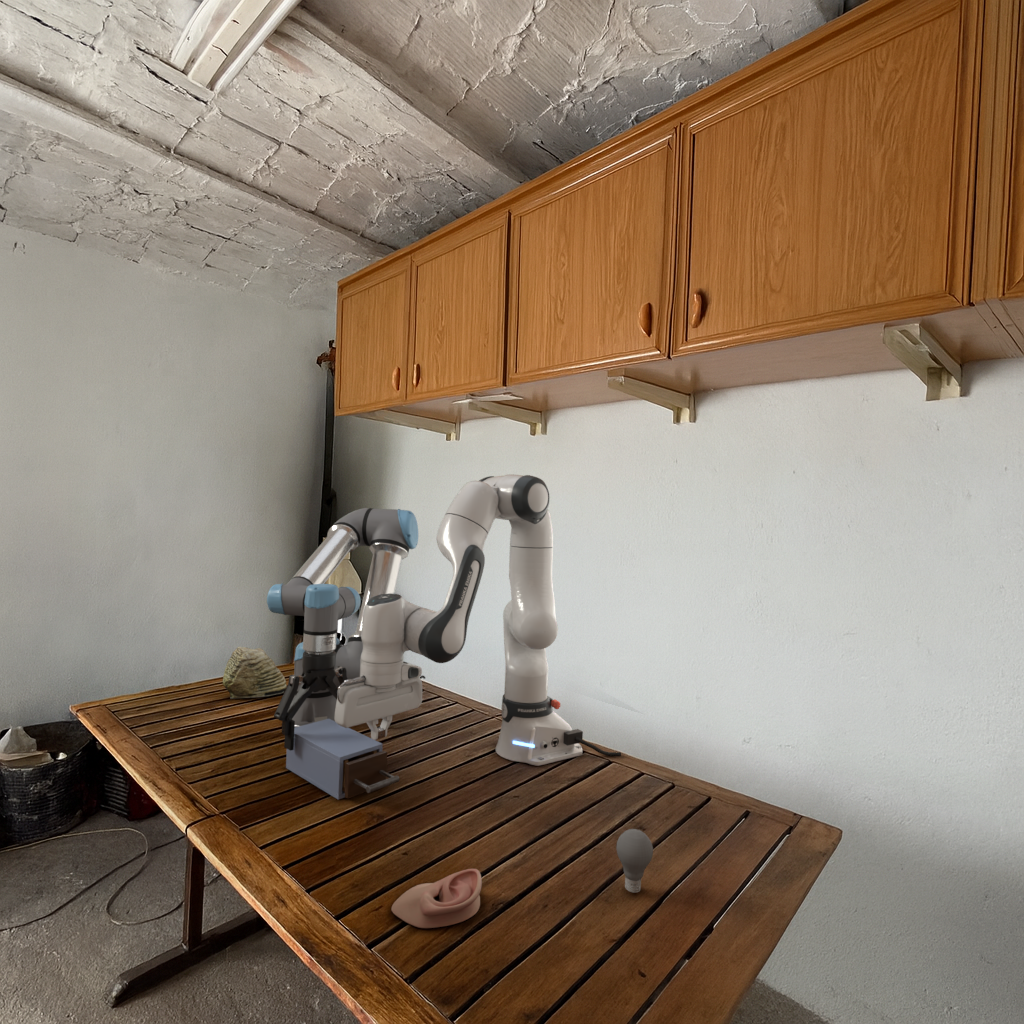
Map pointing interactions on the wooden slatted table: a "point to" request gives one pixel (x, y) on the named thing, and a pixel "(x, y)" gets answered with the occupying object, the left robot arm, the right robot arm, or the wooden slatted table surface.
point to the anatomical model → (441, 901)
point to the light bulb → (634, 857)
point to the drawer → (366, 773)
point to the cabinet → (326, 753)
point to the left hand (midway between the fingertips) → (315, 741)
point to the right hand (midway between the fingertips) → (378, 737)
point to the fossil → (252, 674)
